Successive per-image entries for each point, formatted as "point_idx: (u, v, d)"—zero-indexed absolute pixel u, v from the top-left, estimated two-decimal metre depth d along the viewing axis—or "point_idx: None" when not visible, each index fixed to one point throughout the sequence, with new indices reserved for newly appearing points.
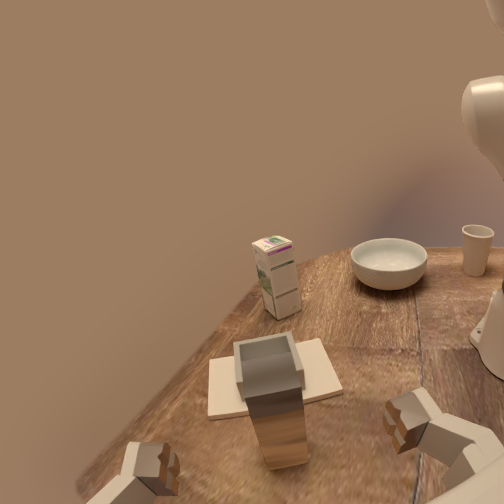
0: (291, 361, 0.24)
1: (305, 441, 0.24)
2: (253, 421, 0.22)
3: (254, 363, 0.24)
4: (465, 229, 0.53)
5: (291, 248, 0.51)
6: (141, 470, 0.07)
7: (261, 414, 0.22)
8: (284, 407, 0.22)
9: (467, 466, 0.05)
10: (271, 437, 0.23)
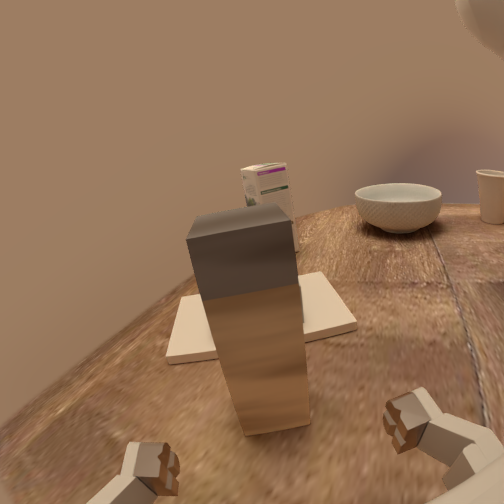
0: (275, 206, 0.15)
1: (304, 373, 0.15)
2: (206, 308, 0.13)
3: (216, 214, 0.16)
4: None
5: (285, 171, 0.43)
6: (140, 470, 0.07)
7: (219, 289, 0.13)
8: (262, 273, 0.13)
9: (467, 466, 0.05)
10: (243, 355, 0.14)
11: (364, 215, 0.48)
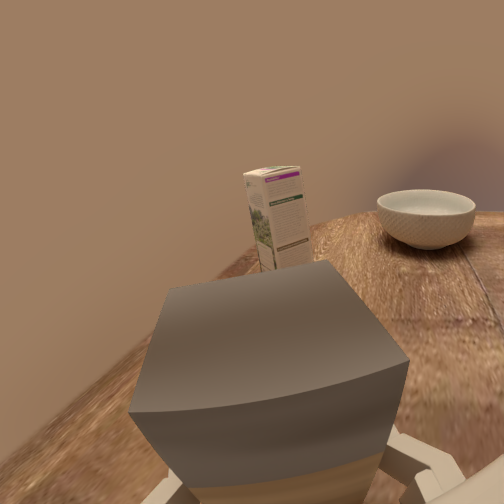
0: (336, 279, 0.07)
1: None
2: (198, 493, 0.05)
3: (208, 291, 0.07)
4: None
5: (299, 176, 0.34)
6: None
7: (223, 478, 0.05)
8: (317, 456, 0.05)
9: (419, 493, 0.05)
10: None
11: (389, 229, 0.40)
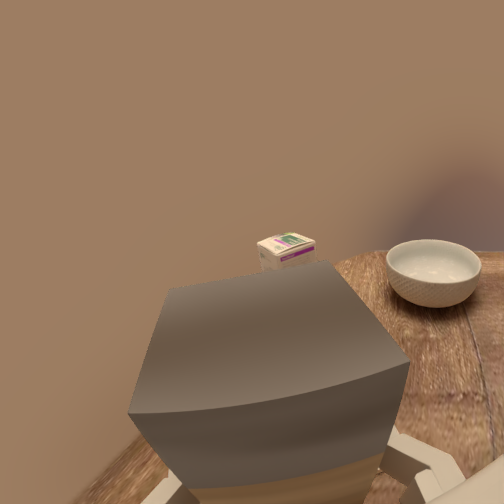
0: (336, 280, 0.07)
1: None
2: (198, 494, 0.05)
3: (208, 291, 0.07)
4: None
5: (313, 251, 0.35)
6: None
7: (223, 479, 0.05)
8: (317, 457, 0.05)
9: (419, 493, 0.05)
10: None
11: (396, 289, 0.40)
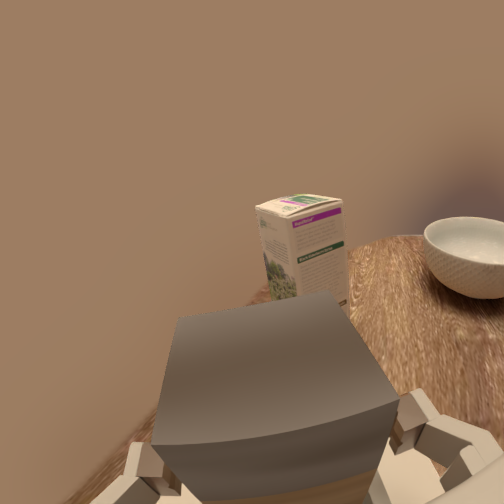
0: (337, 313, 0.07)
1: None
2: None
3: (216, 322, 0.08)
4: None
5: (340, 215, 0.23)
6: (144, 471, 0.07)
7: (232, 493, 0.05)
8: (316, 474, 0.05)
9: (464, 468, 0.05)
10: None
11: (442, 276, 0.28)
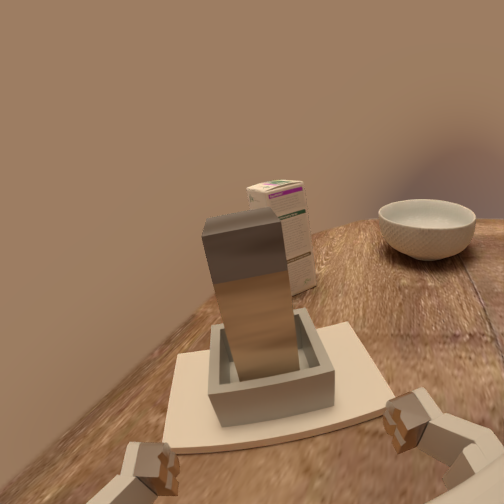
0: (269, 210, 0.19)
1: (295, 345, 0.19)
2: (216, 290, 0.17)
3: (222, 217, 0.20)
4: None
5: (302, 191, 0.35)
6: (141, 470, 0.07)
7: (227, 274, 0.17)
8: (259, 262, 0.17)
9: (467, 466, 0.05)
10: (245, 329, 0.18)
11: (390, 241, 0.40)
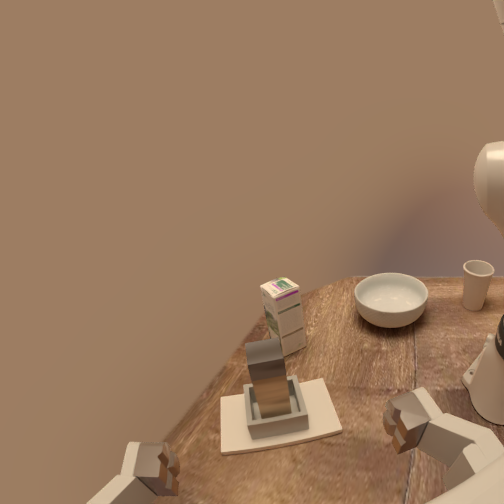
0: (278, 343, 0.37)
1: (289, 402, 0.37)
2: (253, 383, 0.35)
3: (254, 344, 0.38)
4: (466, 265, 0.54)
5: (298, 292, 0.53)
6: (141, 470, 0.07)
7: (258, 377, 0.35)
8: (273, 372, 0.35)
9: (467, 466, 0.05)
10: (265, 396, 0.36)
11: (360, 313, 0.58)
